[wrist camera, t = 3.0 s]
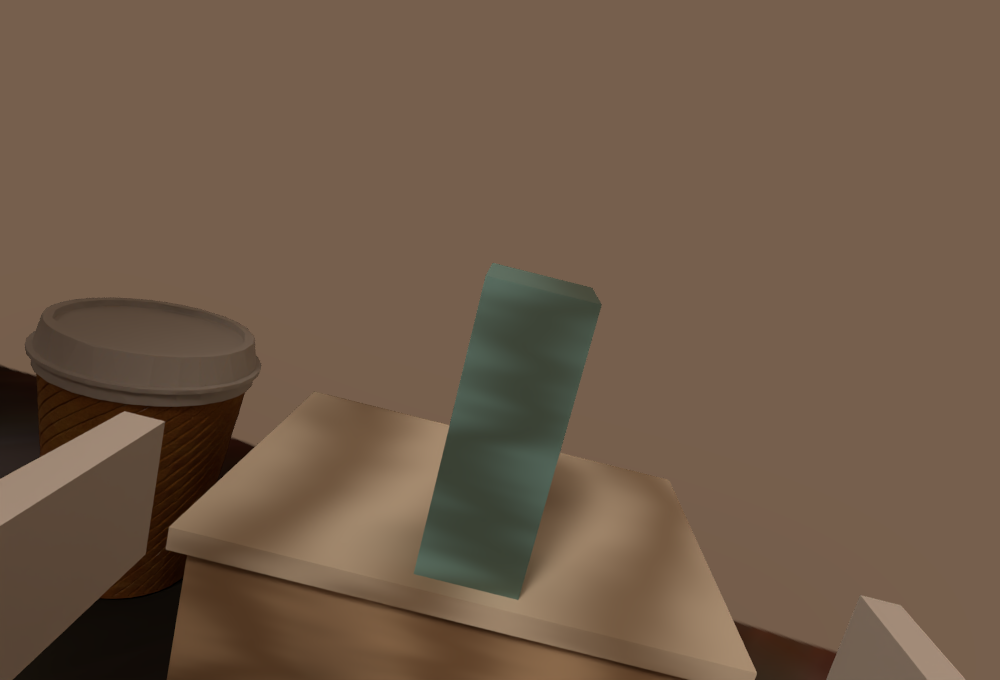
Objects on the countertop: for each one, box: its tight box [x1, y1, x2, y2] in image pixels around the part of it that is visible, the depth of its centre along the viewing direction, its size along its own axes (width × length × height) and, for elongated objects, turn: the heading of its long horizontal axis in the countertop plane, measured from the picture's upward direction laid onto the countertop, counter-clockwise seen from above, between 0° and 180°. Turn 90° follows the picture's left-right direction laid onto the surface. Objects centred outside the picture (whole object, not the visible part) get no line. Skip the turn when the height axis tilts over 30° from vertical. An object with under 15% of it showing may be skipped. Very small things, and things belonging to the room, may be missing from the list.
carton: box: [167, 555, 688, 680], centre depth 31 cm, size 18×14×8 cm
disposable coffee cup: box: [25, 298, 261, 599], centre depth 33 cm, size 10×10×12 cm
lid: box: [166, 263, 757, 680], centre depth 29 cm, size 19×15×11 cm
